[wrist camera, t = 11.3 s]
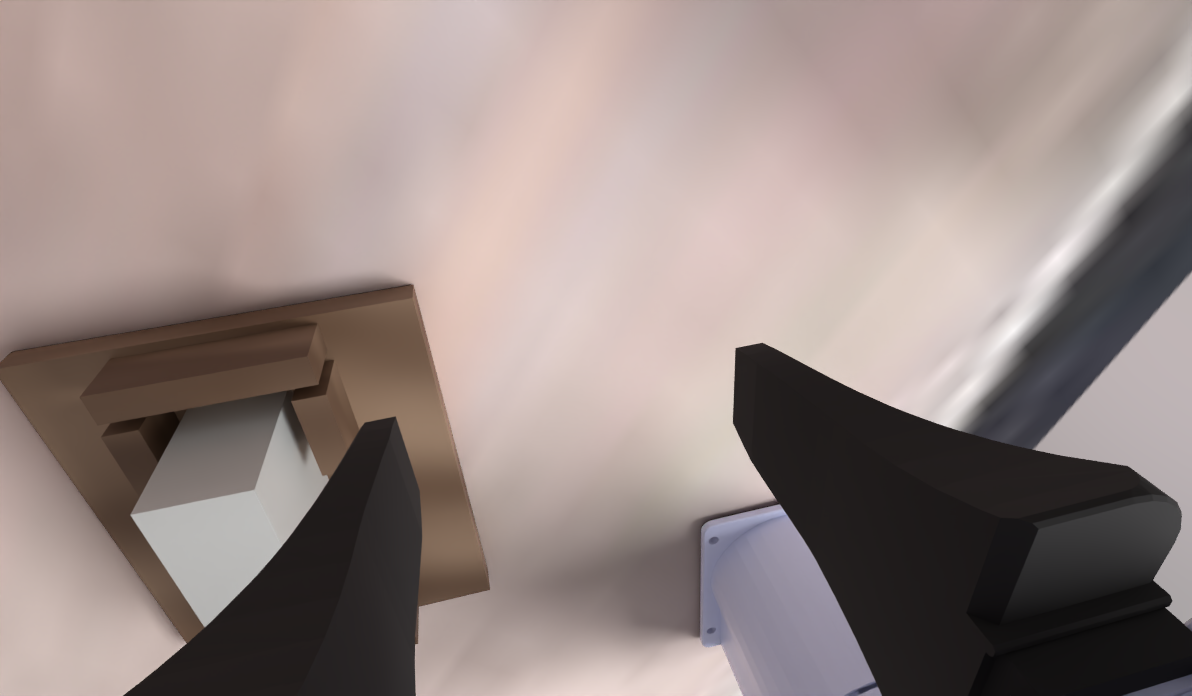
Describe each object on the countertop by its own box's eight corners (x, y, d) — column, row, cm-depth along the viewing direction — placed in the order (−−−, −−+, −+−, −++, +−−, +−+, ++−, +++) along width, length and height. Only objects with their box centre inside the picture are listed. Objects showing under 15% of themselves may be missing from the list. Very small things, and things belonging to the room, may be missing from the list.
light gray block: (370, 582, 26) (360, 700, 22) (294, 600, 26) (268, 723, 22) (289, 383, 21) (254, 489, 17) (191, 401, 20) (130, 515, 16)
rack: (487, 571, 29) (493, 629, 26) (205, 637, 27) (182, 706, 25) (413, 284, 21) (411, 328, 19) (11, 351, 19) (-51, 410, 17)
